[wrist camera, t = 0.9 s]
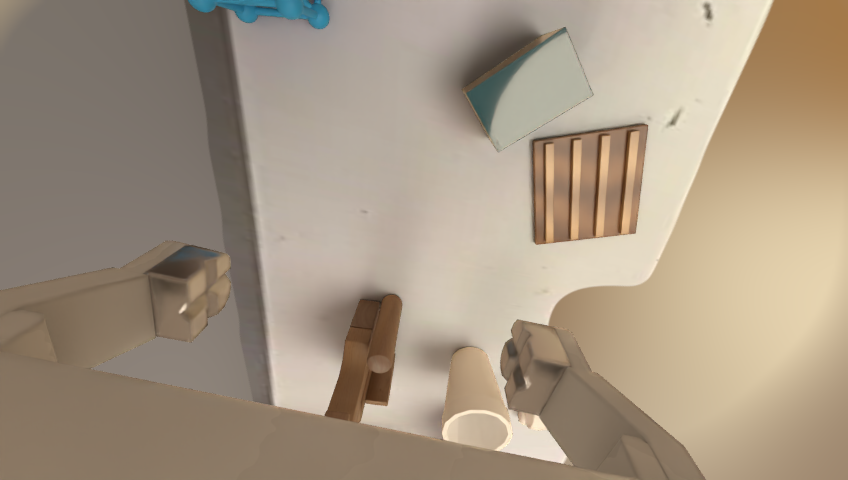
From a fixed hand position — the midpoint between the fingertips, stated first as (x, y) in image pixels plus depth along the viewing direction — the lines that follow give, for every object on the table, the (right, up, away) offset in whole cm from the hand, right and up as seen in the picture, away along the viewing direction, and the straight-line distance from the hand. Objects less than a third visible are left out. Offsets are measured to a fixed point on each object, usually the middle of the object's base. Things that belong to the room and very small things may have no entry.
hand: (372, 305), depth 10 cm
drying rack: (+22, +9, +35) cm, 42 cm away
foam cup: (+9, -18, +49) cm, 53 cm away
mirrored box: (+12, +19, +30) cm, 38 cm away
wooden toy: (-6, -13, +47) cm, 49 cm away
